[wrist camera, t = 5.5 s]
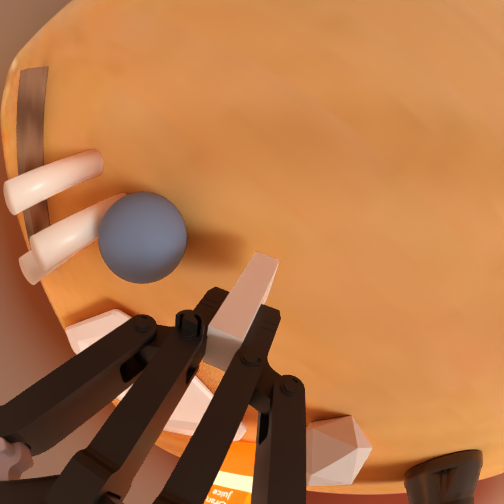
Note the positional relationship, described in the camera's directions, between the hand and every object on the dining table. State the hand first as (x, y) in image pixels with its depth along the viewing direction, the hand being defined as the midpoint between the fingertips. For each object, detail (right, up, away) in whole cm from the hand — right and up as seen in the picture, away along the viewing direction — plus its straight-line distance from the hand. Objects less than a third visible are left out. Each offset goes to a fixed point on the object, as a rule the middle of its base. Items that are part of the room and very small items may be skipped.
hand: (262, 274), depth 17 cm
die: (+9, -18, +9) cm, 22 cm away
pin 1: (-14, +9, +3) cm, 16 cm away
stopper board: (-24, +10, +6) cm, 26 cm away
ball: (-8, +2, 0) cm, 8 cm away
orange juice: (0, -31, +20) cm, 37 cm away
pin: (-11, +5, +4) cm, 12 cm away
